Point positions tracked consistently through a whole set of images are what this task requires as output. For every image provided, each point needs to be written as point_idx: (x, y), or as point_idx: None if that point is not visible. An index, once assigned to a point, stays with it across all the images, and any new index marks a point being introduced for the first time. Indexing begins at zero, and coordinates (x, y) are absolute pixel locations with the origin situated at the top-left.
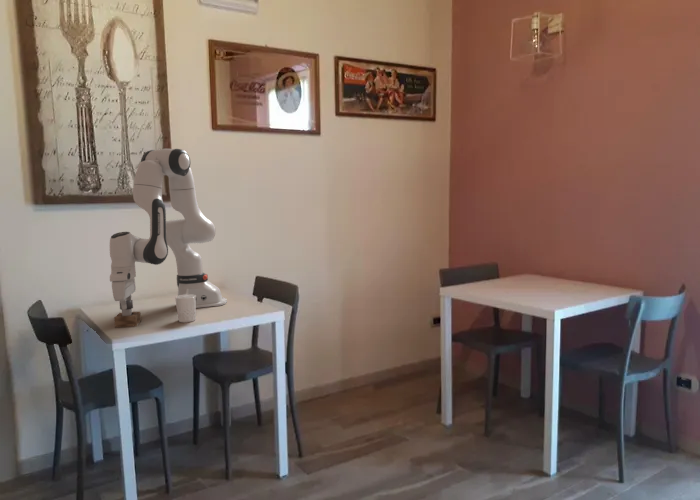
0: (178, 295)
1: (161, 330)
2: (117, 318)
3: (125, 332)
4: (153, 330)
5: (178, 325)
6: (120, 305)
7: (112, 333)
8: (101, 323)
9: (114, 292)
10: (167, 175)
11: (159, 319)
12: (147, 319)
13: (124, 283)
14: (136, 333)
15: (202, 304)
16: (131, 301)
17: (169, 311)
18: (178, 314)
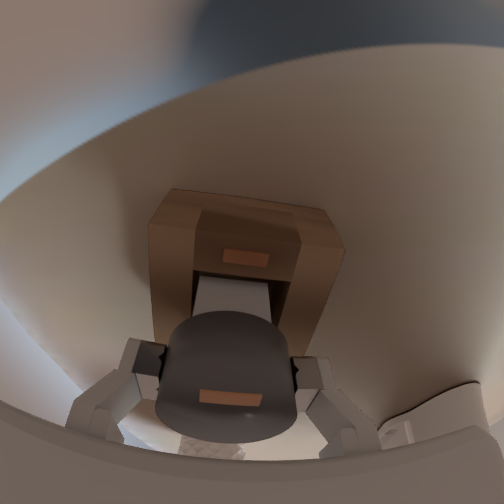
0: (459, 424)
1: (83, 374)
2: (152, 244)
3: (51, 263)
4: (82, 357)
5: (146, 413)
6: (182, 353)
7: (37, 200)
8: (364, 73)
9: None
10: None
11: None
12: (312, 342)
13: None
14: (40, 306)
15: (382, 443)
16: (202, 436)
17: (403, 386)
18: (193, 444)
